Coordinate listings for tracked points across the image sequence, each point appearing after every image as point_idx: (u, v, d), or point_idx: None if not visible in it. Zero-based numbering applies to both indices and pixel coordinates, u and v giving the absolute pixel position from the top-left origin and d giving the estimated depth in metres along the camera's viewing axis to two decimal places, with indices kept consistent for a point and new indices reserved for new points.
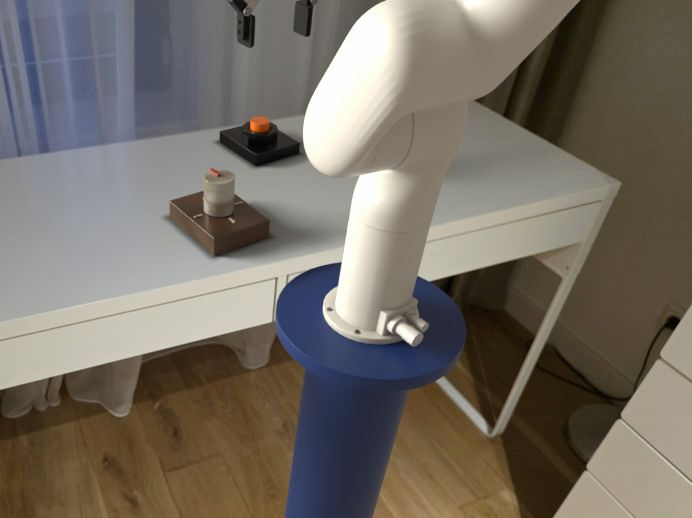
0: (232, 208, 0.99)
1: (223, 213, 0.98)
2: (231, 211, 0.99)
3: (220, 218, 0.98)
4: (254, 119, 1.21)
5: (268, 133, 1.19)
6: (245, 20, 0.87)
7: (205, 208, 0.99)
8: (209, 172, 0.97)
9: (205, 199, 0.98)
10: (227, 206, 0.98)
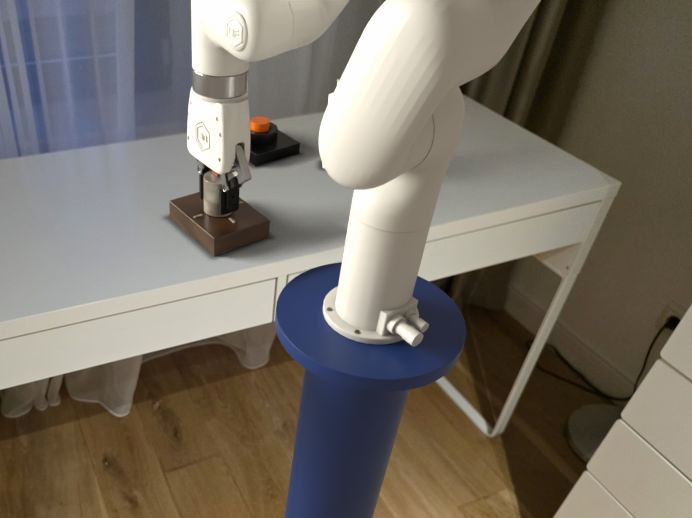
0: None
1: None
2: None
3: (220, 218, 0.98)
4: (254, 119, 1.21)
5: (268, 133, 1.19)
6: None
7: (205, 208, 0.99)
8: (209, 172, 0.97)
9: (205, 199, 0.98)
10: None
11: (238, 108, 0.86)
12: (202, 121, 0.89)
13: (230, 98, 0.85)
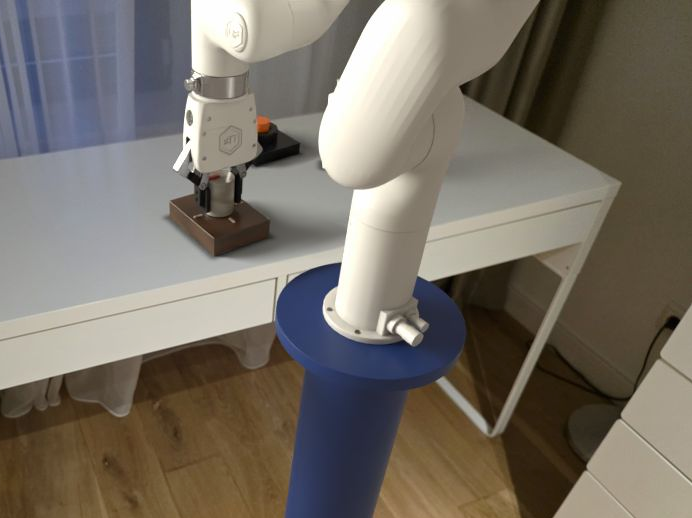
0: None
1: None
2: None
3: (220, 218, 0.98)
4: None
5: (268, 133, 1.19)
6: (201, 192, 0.95)
7: (226, 211, 0.98)
8: (210, 180, 0.95)
9: (226, 202, 0.97)
10: None
11: None
12: (230, 125, 0.89)
13: None
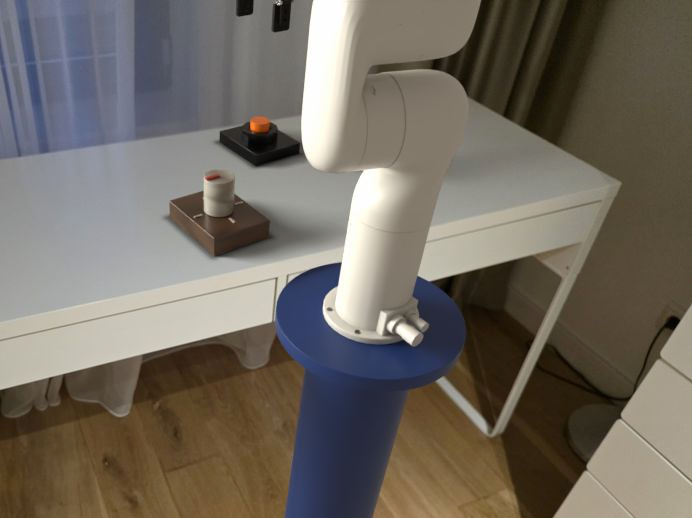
0: None
1: None
2: None
3: (220, 218, 0.98)
4: (254, 119, 1.21)
5: (268, 133, 1.19)
6: None
7: (226, 211, 0.98)
8: (210, 180, 0.95)
9: (226, 202, 0.97)
10: None
11: None
12: None
13: None
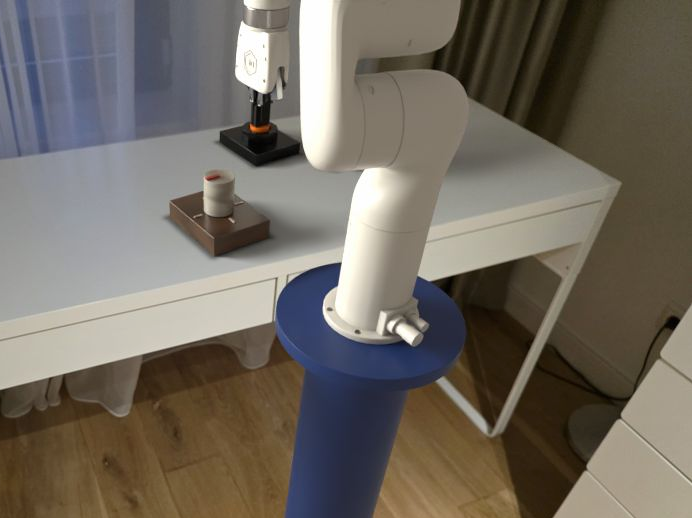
0: None
1: None
2: None
3: (220, 218, 0.98)
4: None
5: (268, 133, 1.19)
6: None
7: (226, 211, 0.98)
8: (210, 180, 0.95)
9: (226, 202, 0.97)
10: None
11: (281, 37, 1.07)
12: (250, 49, 1.11)
13: (274, 28, 1.07)
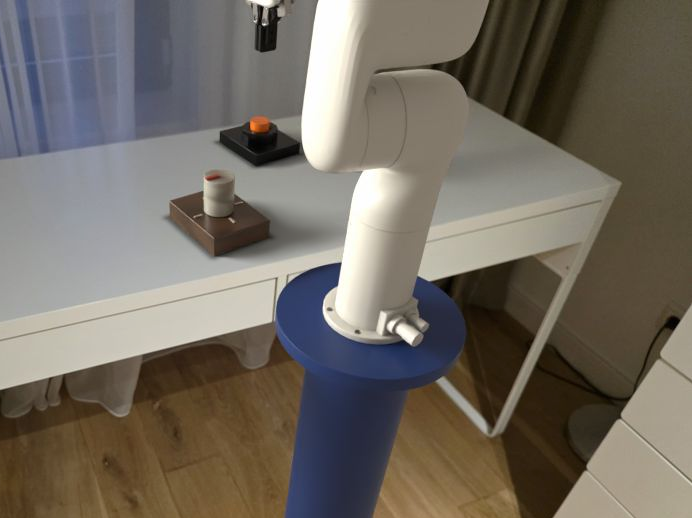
0: None
1: None
2: None
3: (220, 218, 0.98)
4: (254, 119, 1.21)
5: (268, 133, 1.19)
6: None
7: (226, 211, 0.98)
8: (210, 180, 0.95)
9: (226, 202, 0.97)
10: None
11: None
12: None
13: None
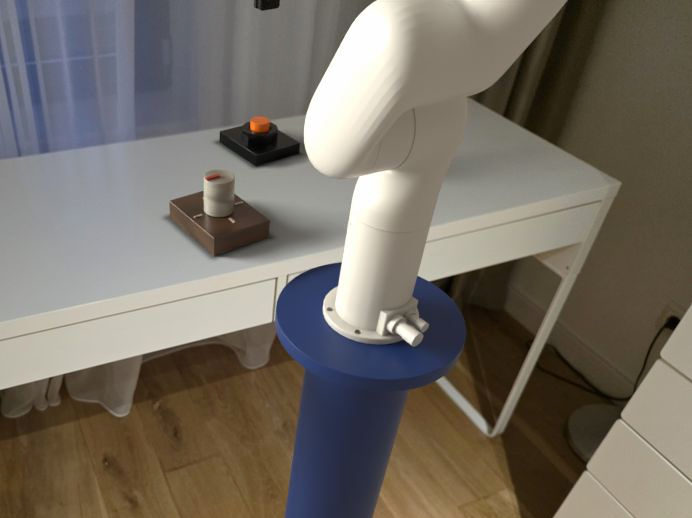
0: None
1: None
2: None
3: (220, 218, 0.98)
4: (254, 119, 1.21)
5: (268, 133, 1.19)
6: None
7: (226, 211, 0.98)
8: (210, 180, 0.95)
9: (226, 202, 0.97)
10: None
11: None
12: None
13: None
